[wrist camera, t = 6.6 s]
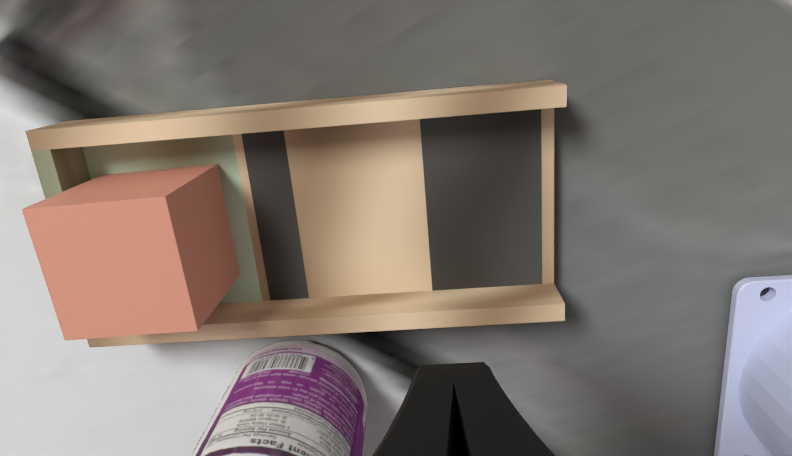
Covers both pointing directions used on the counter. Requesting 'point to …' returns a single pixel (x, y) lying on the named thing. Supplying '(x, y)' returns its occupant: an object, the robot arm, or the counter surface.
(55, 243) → the red block
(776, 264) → the counter surface
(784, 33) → the counter surface
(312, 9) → the counter surface
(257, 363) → the pill bottle
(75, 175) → the box
